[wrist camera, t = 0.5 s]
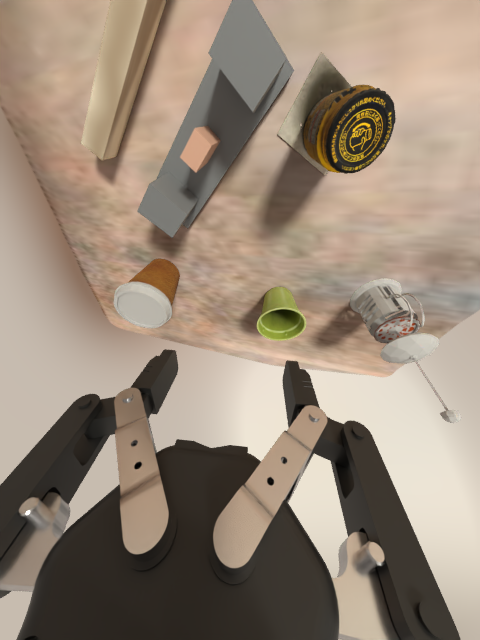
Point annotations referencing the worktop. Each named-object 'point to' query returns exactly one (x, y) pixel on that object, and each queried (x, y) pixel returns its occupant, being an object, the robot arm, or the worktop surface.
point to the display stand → (218, 117)
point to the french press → (396, 327)
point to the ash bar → (119, 72)
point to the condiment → (338, 121)
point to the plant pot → (280, 316)
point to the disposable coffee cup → (148, 295)
